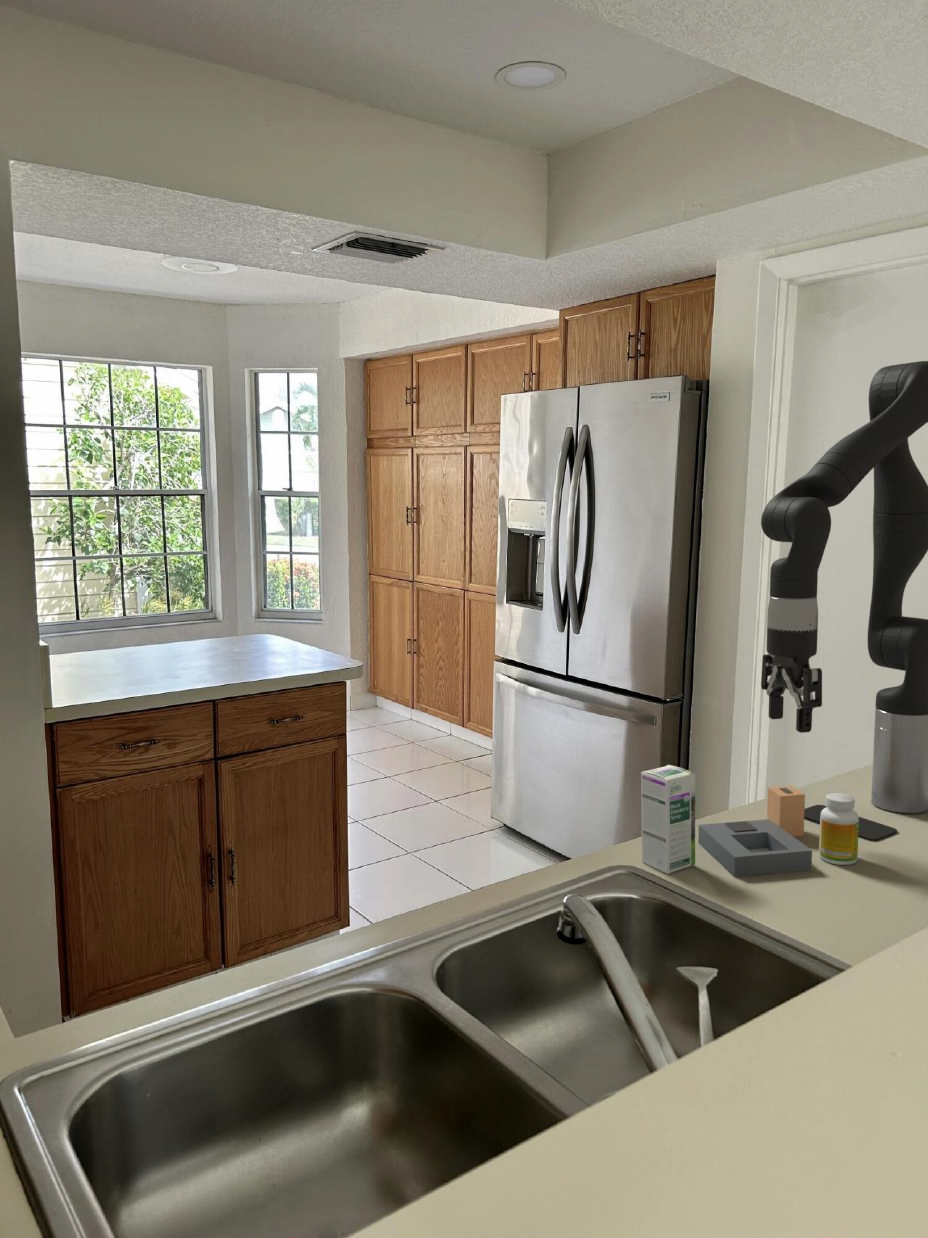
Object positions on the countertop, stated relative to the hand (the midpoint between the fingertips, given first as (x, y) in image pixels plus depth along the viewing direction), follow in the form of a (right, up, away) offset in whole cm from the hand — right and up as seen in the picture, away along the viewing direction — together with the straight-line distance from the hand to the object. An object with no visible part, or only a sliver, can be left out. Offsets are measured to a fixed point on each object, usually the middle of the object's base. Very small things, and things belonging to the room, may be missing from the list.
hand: (789, 725), depth 146 cm
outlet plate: (-8, -19, -6) cm, 22 cm away
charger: (0, -18, +3) cm, 18 cm away
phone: (+12, -18, +6) cm, 22 cm away
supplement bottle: (+5, -20, -8) cm, 22 cm away
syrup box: (-21, -20, -8) cm, 31 cm away
